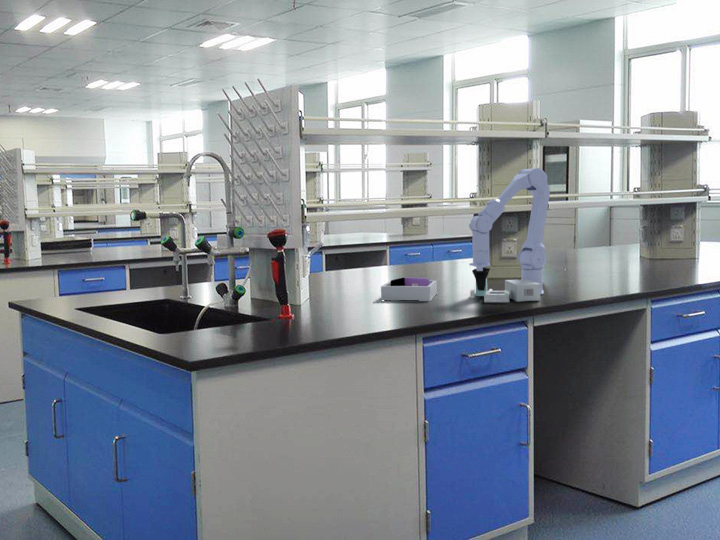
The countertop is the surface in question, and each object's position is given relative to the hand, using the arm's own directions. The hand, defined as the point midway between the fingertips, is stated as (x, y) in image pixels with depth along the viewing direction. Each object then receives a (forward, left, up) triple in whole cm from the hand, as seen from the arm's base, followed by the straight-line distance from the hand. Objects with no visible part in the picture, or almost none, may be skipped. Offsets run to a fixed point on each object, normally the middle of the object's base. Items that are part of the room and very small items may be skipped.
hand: (481, 289), depth 265 cm
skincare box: (+10, +16, 0) cm, 19 cm away
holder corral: (+2, -25, -3) cm, 25 cm away
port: (+9, +6, -3) cm, 11 cm away
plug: (0, 0, -2) cm, 2 cm away
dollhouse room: (+2, -25, -3) cm, 25 cm away
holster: (0, 0, -3) cm, 3 cm away
